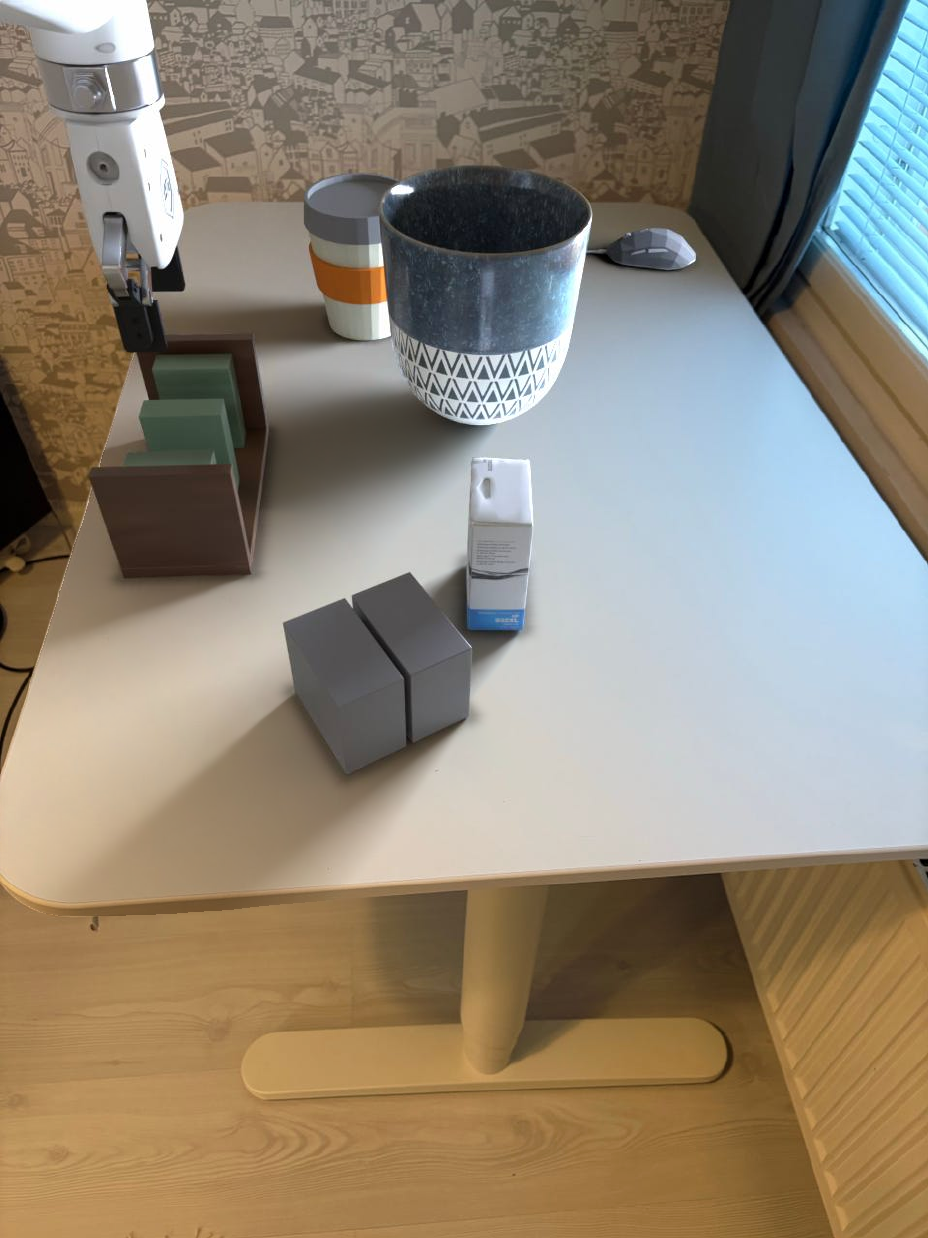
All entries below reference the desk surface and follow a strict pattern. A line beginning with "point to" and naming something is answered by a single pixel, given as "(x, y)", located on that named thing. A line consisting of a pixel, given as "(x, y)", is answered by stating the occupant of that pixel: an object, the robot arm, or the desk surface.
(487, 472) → the ink box
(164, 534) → the book rack
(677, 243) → the gaming mouse
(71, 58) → the robot arm
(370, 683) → the grey blocks
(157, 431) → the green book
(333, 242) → the reusable coffee cup
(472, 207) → the planter
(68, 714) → the desk surface
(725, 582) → the desk surface
